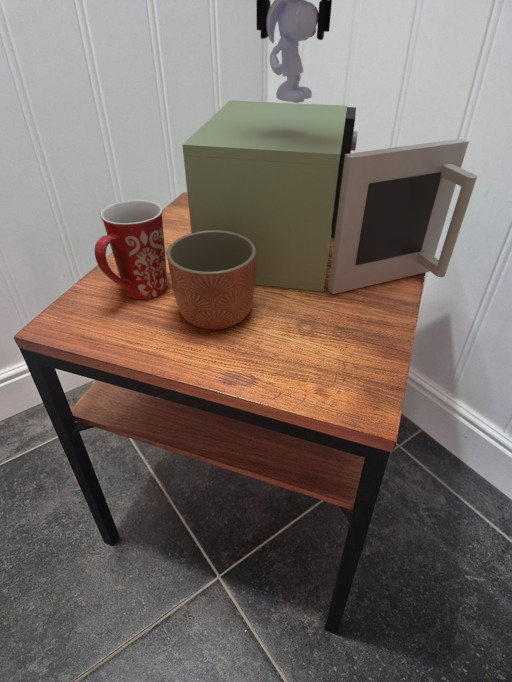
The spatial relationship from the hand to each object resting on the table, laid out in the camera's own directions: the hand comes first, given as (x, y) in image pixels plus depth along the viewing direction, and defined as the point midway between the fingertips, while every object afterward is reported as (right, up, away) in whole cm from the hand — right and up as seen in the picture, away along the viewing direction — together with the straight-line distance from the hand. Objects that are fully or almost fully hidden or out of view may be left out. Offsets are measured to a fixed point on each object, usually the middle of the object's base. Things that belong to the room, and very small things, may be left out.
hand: (292, 36), depth 58 cm
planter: (-11, -36, +11) cm, 39 cm away
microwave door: (+18, -31, +15) cm, 39 cm away
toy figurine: (0, -6, +5) cm, 7 cm away
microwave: (-1, -22, +27) cm, 35 cm away
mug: (-24, -32, +15) cm, 43 cm away
